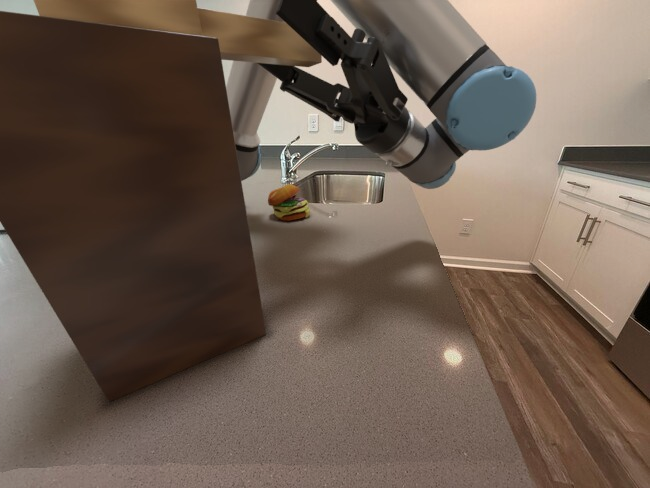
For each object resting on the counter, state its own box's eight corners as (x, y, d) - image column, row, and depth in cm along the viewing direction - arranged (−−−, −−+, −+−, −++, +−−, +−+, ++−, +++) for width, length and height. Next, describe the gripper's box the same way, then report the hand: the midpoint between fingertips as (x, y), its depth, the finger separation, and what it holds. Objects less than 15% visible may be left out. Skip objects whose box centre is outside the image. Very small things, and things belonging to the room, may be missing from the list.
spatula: (40, 17, 15) (12, -54, 14) (78, 56, 24) (63, 14, 22) (342, 55, 26) (343, 16, 24) (294, 72, 34) (292, 44, 33)
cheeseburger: (306, 223, 67) (294, 186, 63) (270, 230, 70) (257, 195, 67) (315, 210, 76) (305, 177, 72) (282, 217, 79) (271, 185, 75)
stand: (108, 402, 25) (-140, -8, 12) (119, 327, 34) (-15, 50, 21) (266, 334, 32) (218, 37, 20) (240, 288, 42) (195, 66, 29)
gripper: (447, 163, 30) (298, 19, 17) (334, 149, 49) (219, 75, 35) (478, 101, 29) (346, -107, 16) (351, 110, 48) (239, 18, 34)
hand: (258, 18), depth 25 cm, fingers open, 11 cm apart
